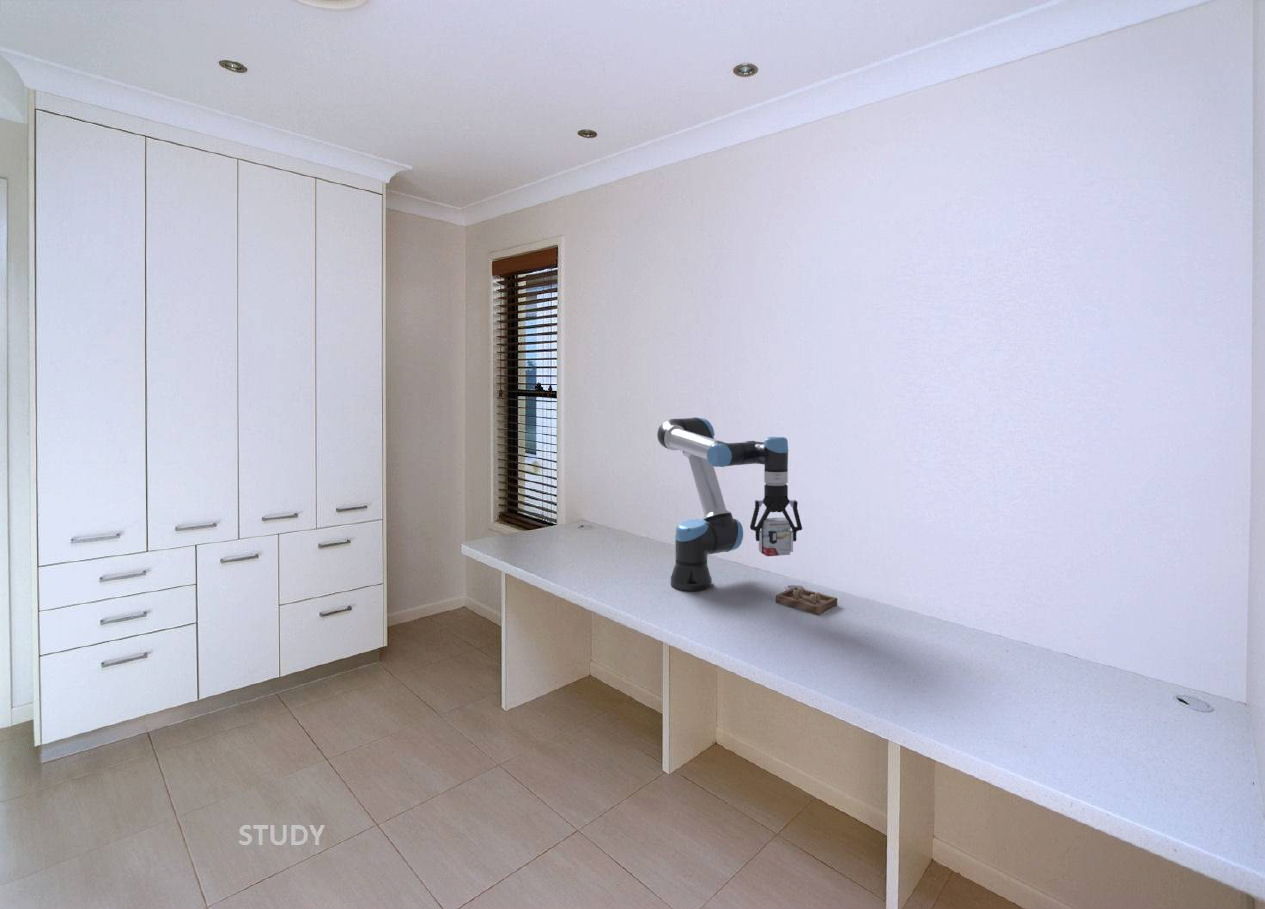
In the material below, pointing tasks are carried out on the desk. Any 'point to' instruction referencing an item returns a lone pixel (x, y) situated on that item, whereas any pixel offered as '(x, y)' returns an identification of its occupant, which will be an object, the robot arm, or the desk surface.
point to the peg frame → (806, 600)
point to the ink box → (776, 537)
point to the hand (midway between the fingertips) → (775, 550)
